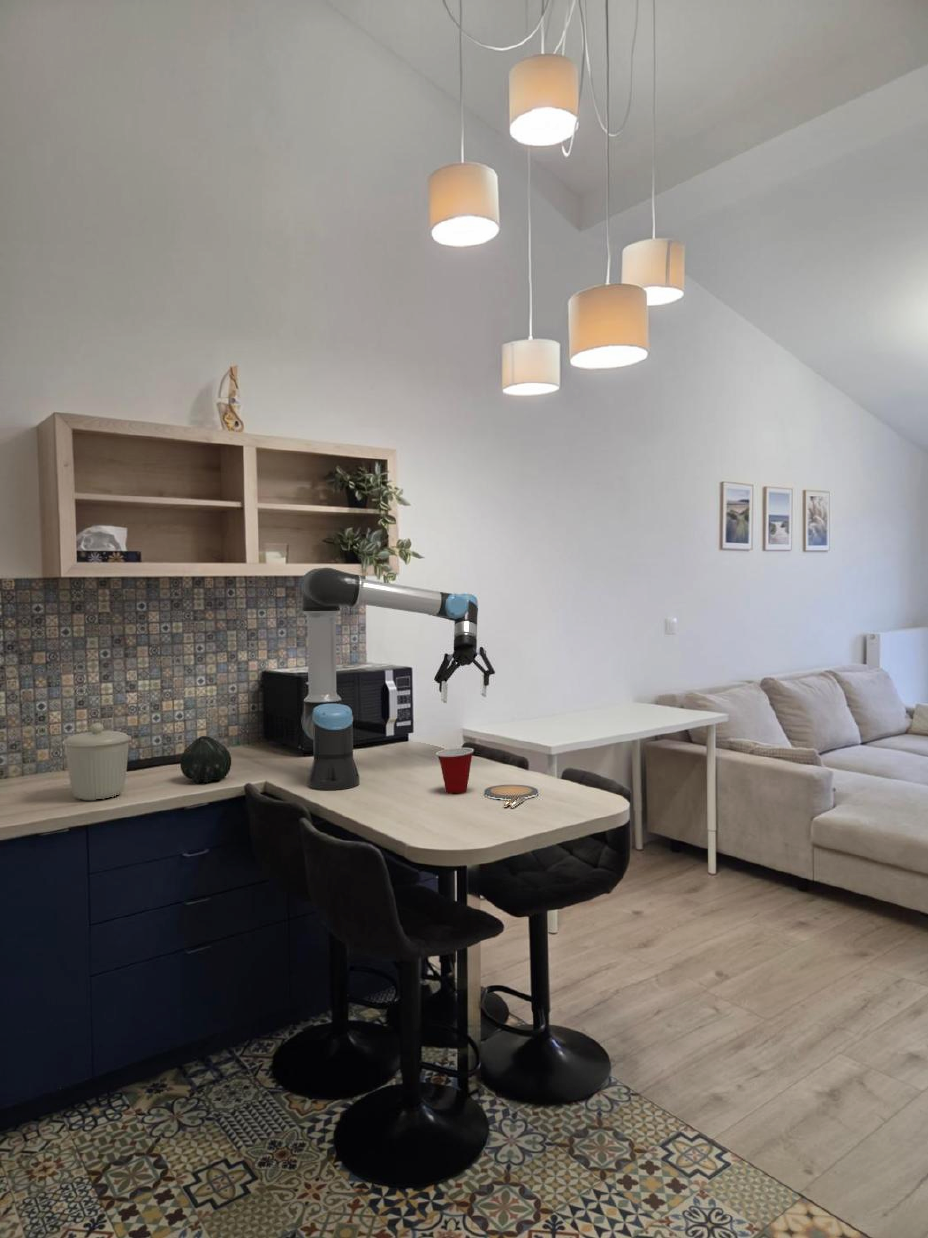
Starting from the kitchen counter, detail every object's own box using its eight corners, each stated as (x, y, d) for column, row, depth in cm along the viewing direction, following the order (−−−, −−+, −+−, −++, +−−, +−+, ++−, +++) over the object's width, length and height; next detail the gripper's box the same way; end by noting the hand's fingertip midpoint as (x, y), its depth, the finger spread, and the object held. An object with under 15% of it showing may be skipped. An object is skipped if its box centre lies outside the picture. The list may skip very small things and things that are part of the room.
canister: (143, 796, 242) (141, 722, 242) (78, 808, 229) (76, 730, 229) (117, 786, 255) (114, 716, 254) (54, 797, 242) (51, 724, 241)
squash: (219, 755, 273) (192, 724, 265) (247, 762, 264) (220, 731, 255) (190, 790, 266) (161, 760, 257) (218, 799, 256) (188, 768, 248)
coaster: (514, 803, 227) (514, 799, 227) (473, 795, 237) (473, 791, 237) (548, 793, 238) (548, 789, 238) (508, 785, 248) (508, 781, 248)
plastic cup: (437, 787, 247) (436, 746, 247) (474, 787, 247) (474, 746, 246) (435, 796, 236) (434, 753, 236) (474, 796, 236) (473, 753, 235)
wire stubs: (513, 809, 221) (513, 804, 221) (502, 808, 222) (502, 803, 222) (525, 801, 230) (525, 796, 230) (515, 800, 231) (515, 795, 231)
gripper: (505, 637, 275) (504, 697, 264) (436, 649, 284) (433, 708, 274) (496, 626, 269) (495, 687, 258) (426, 640, 278) (422, 699, 268)
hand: (463, 698), depth 266 cm, fingers open, 13 cm apart
